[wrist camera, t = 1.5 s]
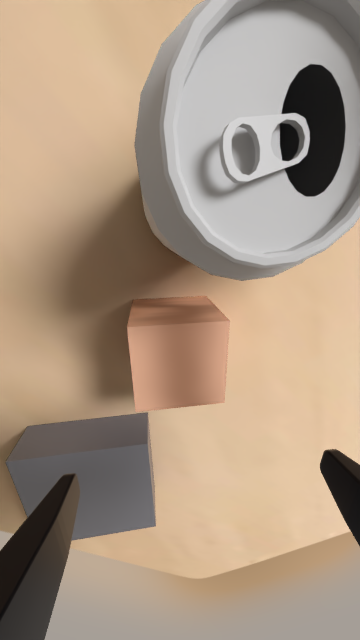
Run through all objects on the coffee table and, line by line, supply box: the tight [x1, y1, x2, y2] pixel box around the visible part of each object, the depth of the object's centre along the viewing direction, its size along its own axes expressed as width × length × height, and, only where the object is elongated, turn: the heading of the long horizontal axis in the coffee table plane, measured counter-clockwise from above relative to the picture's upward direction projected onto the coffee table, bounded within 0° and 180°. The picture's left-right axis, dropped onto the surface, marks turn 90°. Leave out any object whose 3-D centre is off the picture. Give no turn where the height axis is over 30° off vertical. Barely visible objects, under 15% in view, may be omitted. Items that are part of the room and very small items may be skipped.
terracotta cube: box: [127, 296, 230, 412], centre depth 17 cm, size 6×6×6 cm
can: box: [135, 0, 360, 281], centre depth 11 cm, size 8×8×12 cm
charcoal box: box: [6, 413, 156, 540], centre depth 22 cm, size 11×11×4 cm
